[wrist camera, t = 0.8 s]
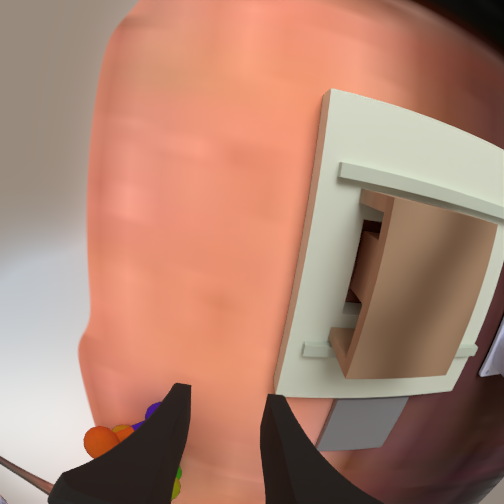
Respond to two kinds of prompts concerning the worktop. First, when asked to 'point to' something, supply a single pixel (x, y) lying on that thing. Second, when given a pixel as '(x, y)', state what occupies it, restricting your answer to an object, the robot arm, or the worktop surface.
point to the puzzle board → (353, 213)
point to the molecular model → (118, 441)
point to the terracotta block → (364, 264)
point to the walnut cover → (416, 291)
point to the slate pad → (360, 422)
